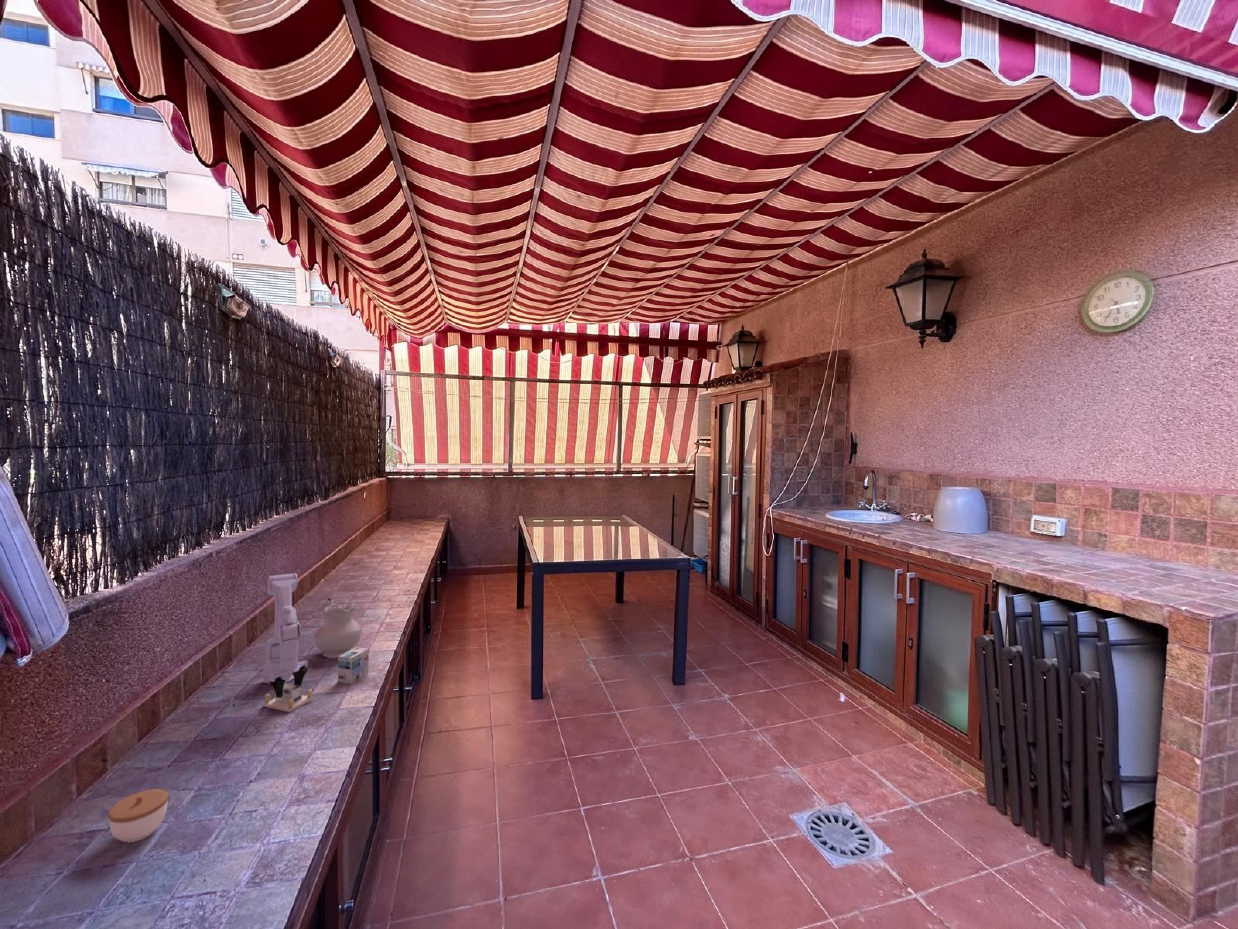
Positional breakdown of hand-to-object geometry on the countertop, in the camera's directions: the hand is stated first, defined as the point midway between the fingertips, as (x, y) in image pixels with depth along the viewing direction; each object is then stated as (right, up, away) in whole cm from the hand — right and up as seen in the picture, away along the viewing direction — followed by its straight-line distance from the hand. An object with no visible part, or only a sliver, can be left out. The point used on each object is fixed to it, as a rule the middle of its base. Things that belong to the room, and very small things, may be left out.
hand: (288, 692), depth 191 cm
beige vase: (-8, -3, +47) cm, 48 cm away
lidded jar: (+5, -6, -65) cm, 65 cm away
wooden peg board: (0, -4, 0) cm, 4 cm away
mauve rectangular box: (0, -3, 0) cm, 3 cm away
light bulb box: (+13, -4, +22) cm, 26 cm away
